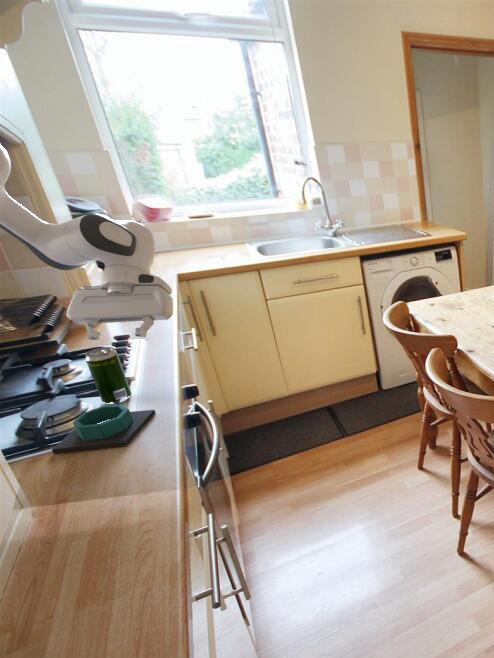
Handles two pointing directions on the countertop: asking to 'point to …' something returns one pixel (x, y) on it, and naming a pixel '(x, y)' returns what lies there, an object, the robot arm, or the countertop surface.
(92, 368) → the beer can
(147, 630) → the countertop surface
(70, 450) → the can pad
